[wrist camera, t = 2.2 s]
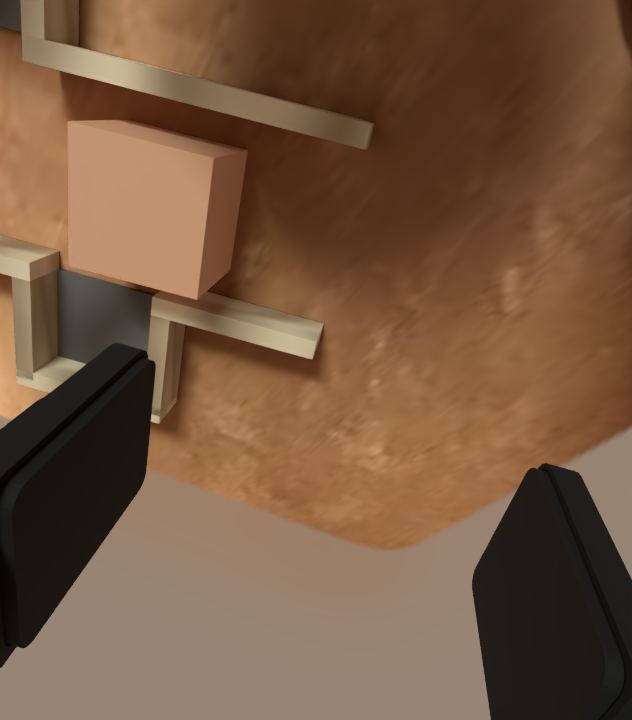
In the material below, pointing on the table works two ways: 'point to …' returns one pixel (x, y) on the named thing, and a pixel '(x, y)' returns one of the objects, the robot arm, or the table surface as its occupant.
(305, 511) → the table surface
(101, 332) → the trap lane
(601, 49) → the table surface
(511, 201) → the table surface
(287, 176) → the table surface
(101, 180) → the terracotta block
